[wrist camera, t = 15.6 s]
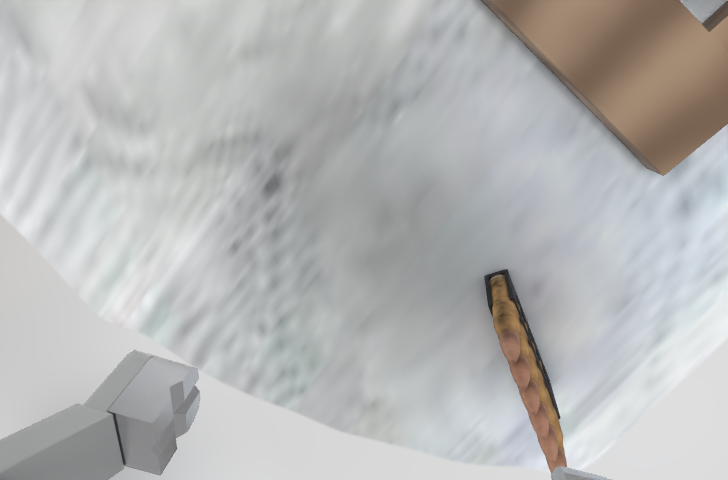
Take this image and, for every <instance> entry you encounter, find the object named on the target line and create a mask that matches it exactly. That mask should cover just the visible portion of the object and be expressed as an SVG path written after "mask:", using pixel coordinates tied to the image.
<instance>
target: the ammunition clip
mask: <svg viewBox="0 0 728 480" xmlns="http://www.w3.org/2000/svg"><path fill="white" fill-rule="evenodd" d="M485 284H486V292H487V299H488V306H489V309H490V311H491V314H492V316H493V321H494V328H495V330H496V333H497V334H498V337H499V341H500V345H501V348H502V351H503V353H504V355H505V357H506V358H507V359H508V363H509V366H510V370H511V373H512V376H513V378H514V380H515V382H516V383H517V385H518V388H519V392H520V396H521V398H522V401H523V403H524V405H525V407H526V409H527V411H528V414H529V418H530V421H531V424H532V426H533V428H534V430H535V432H536V433H537V437H538V441H539V443H540V446H541V449H542V451H543V453H544V454H545V456H546V460H547V463H548V466H549V469H550V471H551V473H553V471H554V469H555V468H556V467H558V466H563V467H567V464H566V458H565V454H564V447H563V434H562V431H561V427H560V423H559V419H560V415H559V411H558V408H557V404H556V401H555V397H554V394H553V390H552V387H551V383H550V380H549V377H548V375H547V372H546V370H545V367H544V364H543V362H542V359H541V356H540V354H539V351H538V349H537V346H536V343H535V341H534V338H533V336H532V333H531V330H530V328H529V325H528V322H527V320H526V317H525V315H524V312H523V309H522V307H521V304H520V301H519V299H518V296H517V294H516V291H515V288H514V286H513V283H512V281H511V278H510V275H509V273H508V270H502V271H499V272H496V273H493V274H490V275H487V276H485Z"/></svg>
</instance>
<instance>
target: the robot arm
mask: <svg viewBox="0 0 728 480" xmlns="http://www.w3.org/2000/svg"><path fill="white" fill-rule="evenodd" d="M198 379H199V375H198V368H194V367H191V366H188V365H184V364H181V363H178V362H174V361H171V360H167V359H164V358H161V357H157V356H154V355H151V354H147V353H143V352H140V351H136V350H134V351H133V352H131V353H129V354H128V355H126V357H125V358H124V359H123V360H122V361H121V362H120V363H119V365H118V366H117V367H116V368H115V369H114V370H113V372H112V373H111V374H110V375H109V376H108V377H107V379H106V380H105V381H104V382H103V383H102V384H101V385H100V387H99V388H98V389H97V390H96V391H95V392H94V394H93V395H92V396H91V397H90V398H89V399H88V400H87V401H86V403H85V404H84V405H81V404H75V405H73V406H71V407H69V408H67V409H65V410H63V411H60V412H58V413H56V414H54V415H52V416H50V417H48V418H46V419H43V420H41V421H39V422H37V423H35V424H33V425H31V426H29V427H26V428H24V429H22V430H20V431H18V432H16V433H14V434H12V435H9V436H8V437H5V438H3V439H1V440H0V480H108V479H110V478H111V477H113V476H114V475H115V474H117V473H118V472H120V471H121V470H123V469H124V466H127V467H130V468H134V469H138V470H142V471H145V472H150V473H153V474H157V475H161V474H162V472H163V471H164V469H165V468H166V466H167V464H168V463H169V461H170V459H171V458H172V456H173V454H174V453H175V451H176V450H177V445H176V438H177V437H179V436H181V435H183V434H184V433H186V432H187V431H188V430H189V428H190V426H191V425H192V423H193V421H194V419H195V416H196V413H197V411H198V408H199V402H200V391H199V390H198V389H197V388H196V386H195V384H196V382H197V381H198ZM551 478H552V480H611V479H607V478H606V477H602V476H598V475H594V474H590V473H586V472H582V471H578V470H575V469H571V468H567V467H563V466H558V467H556V468H555V469H554V471H553V473H552V474H551Z"/></svg>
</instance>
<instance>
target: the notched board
mask: <svg viewBox="0 0 728 480" xmlns="http://www.w3.org/2000/svg"><path fill="white" fill-rule="evenodd" d="M482 1H483V2H484V3H485V4H486V5H487V6H488V7H489V8H490V9H491V10H492V11H493V12H494V13H495V14H496V15H497V16H498V17H499V18H500V19H501V20H502V21H503V22H504V24H505V25H506V26H507V27H508V28H509V29H510V30H511V31H512V32H513V33H514V34H515V35H516V36H517V37H518V38H519V39H520V40H521V41H522V42H523V43H524V44H525V45H526V46H527V47H528V48H529V49H530V50H531V51H532V52H533V53H534V54H535V55H536V56H537V57H538V58H539V59H540V60H541V61H542V62H543V63H544V64H545V65H546V66H547V67H548V68H549V69H550V70H551V71H552V72H553V73H554V74H555V75H556V76H557V77H558V78H559V79H560V80H561V81H562V82H563V83H564V84H565V85H566V86H567V87H568V88H569V89H570V90H571V91H572V92H573V93H574V94H575V95H576V96H577V98H578V99H579V100H580V101H581V102H582V103H583V104H584V105H585V106H586V107H587V108H588V109H589V110H590V111H591V112H592V113H593V114H594V115H595V116H596V117H597V118H598V119H599V120H600V121H601V122H602V123H603V124H604V125H605V126H606V127H607V128H608V129H609V130H610V131H611V132H612V133H613V134H614V135H615V136H616V137H617V138H618V139H619V140H620V141H621V142H622V143H623V144H624V145H625V146H626V147H627V148H628V149H629V150H630V151H631V152H632V153H633V154H634V155H635V156H636V157H637V158H638V159H639V160H640V161H641V162H642V163H643V164H644V165H645V166H646V167H647V168H648V169H650V170H652V171H654V172H656V173H659V174H661V175H663V176H664V175H665V174H667V173H668V172H669V171H670V170H671V169H673V168H674V167H675V166H676V165H678V164H679V163H680V162H681V161H682V160H684V159H685V158H686V157H687V156H689V155H690V154H691V153H692V152H694V151H695V150H696V149H697V148H698V147H700V146H701V145H702V144H703V143H705V142H706V141H707V140H708V139H709V138H711V137H712V136H713V135H714V134H716V133H717V132H718V131H719V130H721V129H722V128H723V127H724V126H725V125H727V124H728V1H727V2H726V3H725V4H724V5H722V6H721V7H720V8H719V9H718V10H717V11H716V12H715V13H714V14H713V15H711V16H710V17H709V18H708V19H707V20H706V21H705V22H704V23H703V24H701V23H700V22H699V21H698V20H697V19H696V18H695V17H694V16H693V15H692V14H691V13H690V11H689V10H688V9H687V8H686V7H685V6H684V5H683V4H682V3H681V2H680V1H679V0H482Z"/></svg>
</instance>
